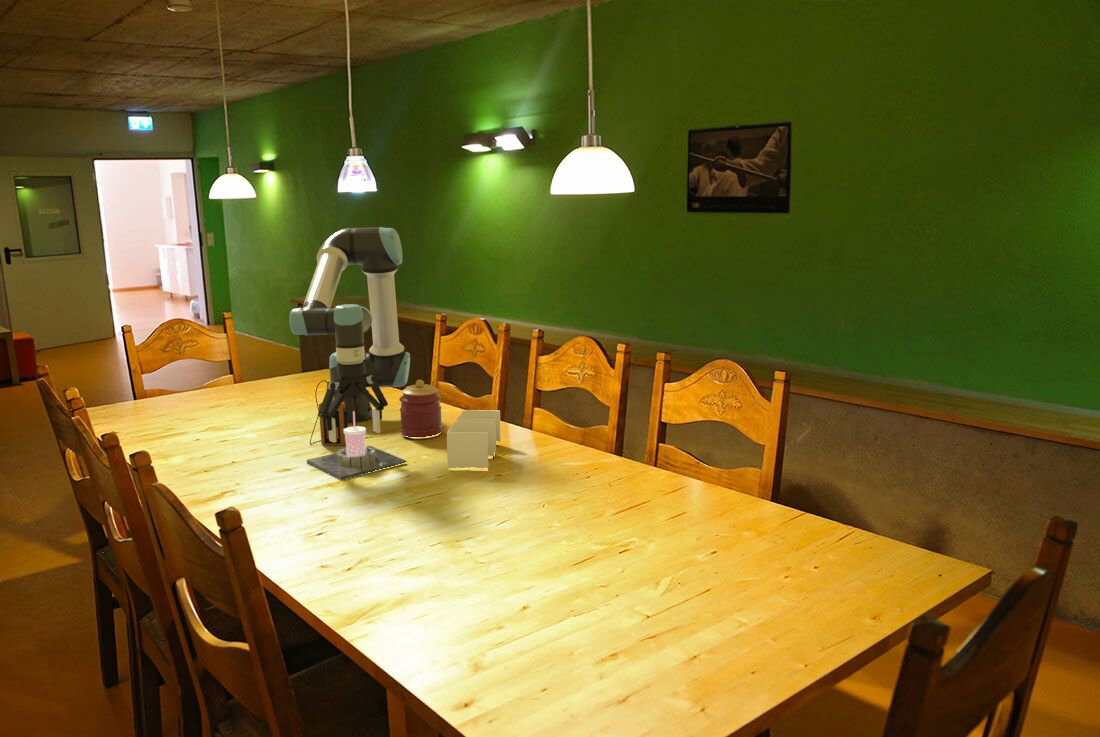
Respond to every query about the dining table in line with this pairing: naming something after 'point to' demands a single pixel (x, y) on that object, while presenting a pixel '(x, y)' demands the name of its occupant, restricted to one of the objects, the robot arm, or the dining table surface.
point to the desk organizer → (473, 438)
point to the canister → (420, 410)
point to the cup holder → (355, 462)
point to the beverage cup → (355, 439)
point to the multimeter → (339, 423)
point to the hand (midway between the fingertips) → (355, 436)
